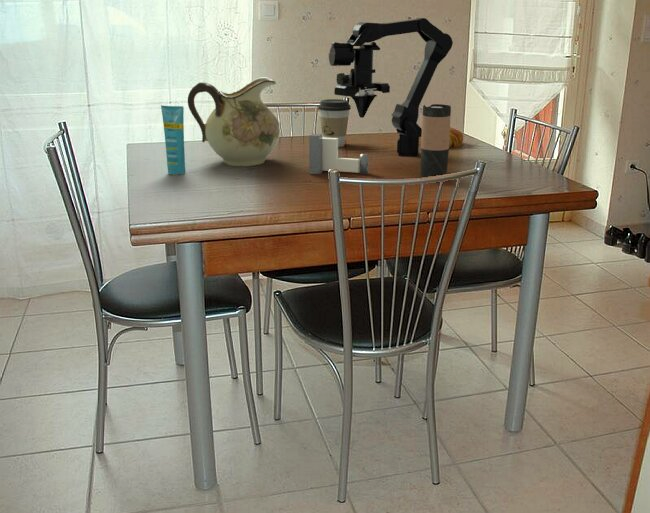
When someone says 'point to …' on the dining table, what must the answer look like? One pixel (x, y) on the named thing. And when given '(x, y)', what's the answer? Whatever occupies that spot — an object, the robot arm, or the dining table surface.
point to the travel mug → (435, 139)
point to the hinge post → (364, 163)
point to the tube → (174, 138)
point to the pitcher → (238, 123)
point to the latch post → (315, 153)
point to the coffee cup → (334, 119)
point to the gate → (336, 157)
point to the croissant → (455, 138)
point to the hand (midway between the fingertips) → (361, 117)
